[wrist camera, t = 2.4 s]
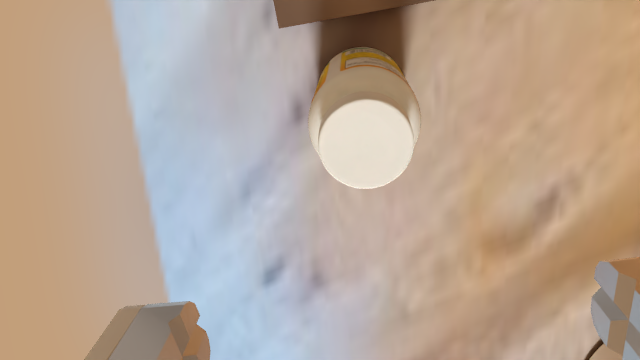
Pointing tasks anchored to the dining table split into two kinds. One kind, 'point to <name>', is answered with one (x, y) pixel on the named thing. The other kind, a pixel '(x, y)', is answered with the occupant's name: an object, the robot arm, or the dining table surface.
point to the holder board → (329, 9)
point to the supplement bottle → (364, 118)
